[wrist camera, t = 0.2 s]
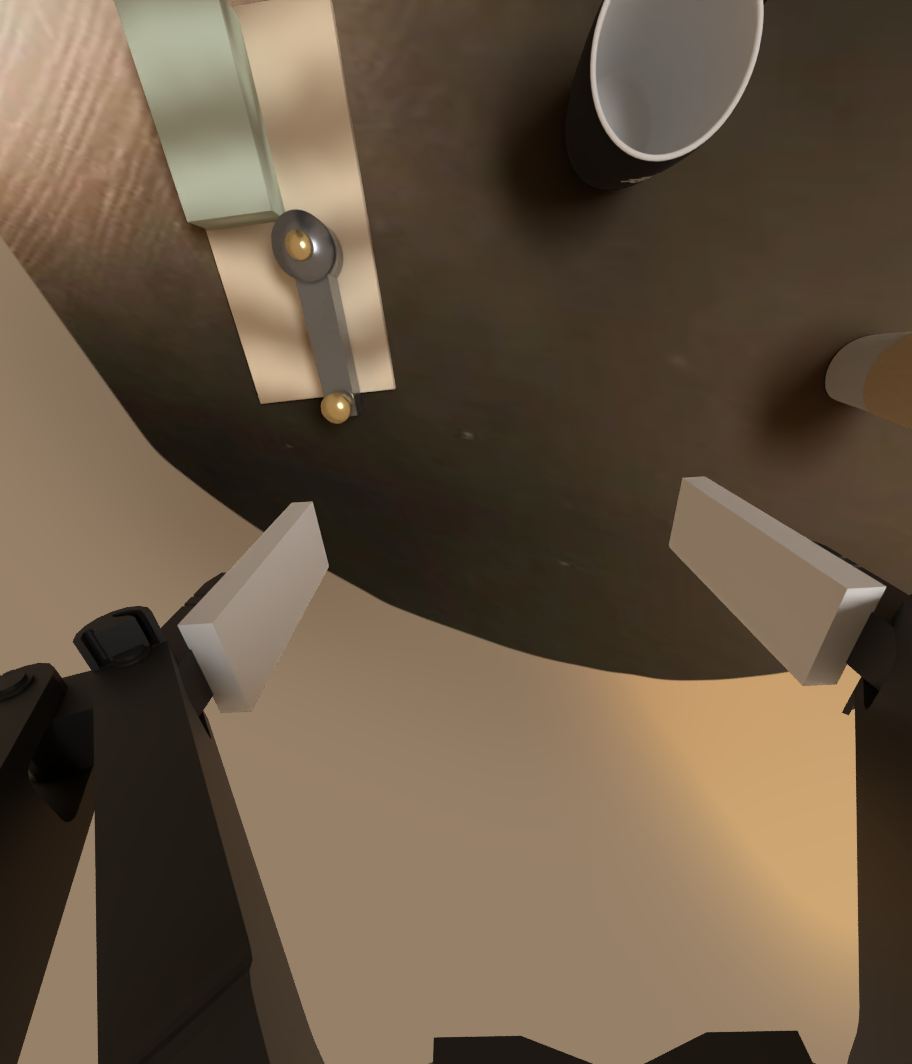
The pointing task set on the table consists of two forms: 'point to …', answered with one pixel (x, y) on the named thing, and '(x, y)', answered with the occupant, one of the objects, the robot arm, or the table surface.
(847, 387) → the coffee cup
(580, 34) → the table surface
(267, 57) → the board
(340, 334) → the latch bar
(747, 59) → the mug
